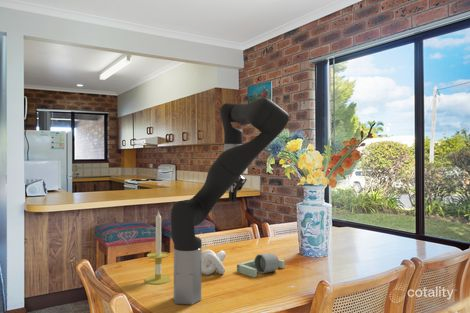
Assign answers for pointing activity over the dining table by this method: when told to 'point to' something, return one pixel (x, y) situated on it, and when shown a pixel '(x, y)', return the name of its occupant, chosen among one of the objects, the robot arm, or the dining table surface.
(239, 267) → the u-shaped bracket
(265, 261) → the ceramic mug
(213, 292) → the dining table surface
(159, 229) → the candle
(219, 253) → the white knot sculpture
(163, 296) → the dining table surface
